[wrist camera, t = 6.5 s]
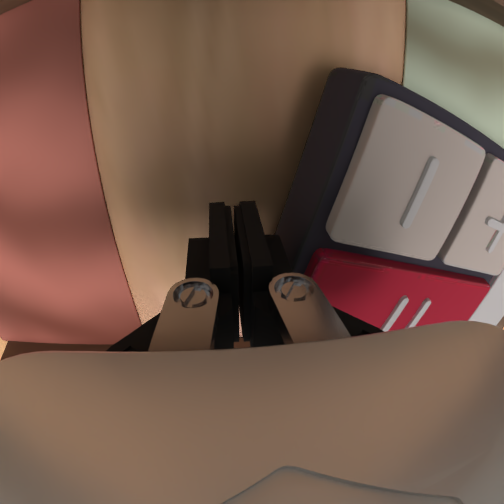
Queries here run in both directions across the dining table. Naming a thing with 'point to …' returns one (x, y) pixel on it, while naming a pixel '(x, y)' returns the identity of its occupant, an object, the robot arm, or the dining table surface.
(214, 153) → the dining table surface
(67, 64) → the brown wooden tray
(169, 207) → the dining table surface
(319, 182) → the calculator
